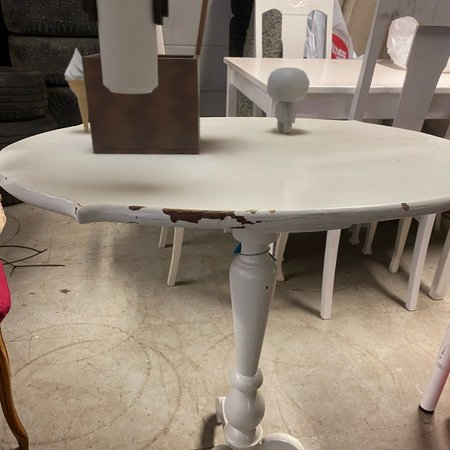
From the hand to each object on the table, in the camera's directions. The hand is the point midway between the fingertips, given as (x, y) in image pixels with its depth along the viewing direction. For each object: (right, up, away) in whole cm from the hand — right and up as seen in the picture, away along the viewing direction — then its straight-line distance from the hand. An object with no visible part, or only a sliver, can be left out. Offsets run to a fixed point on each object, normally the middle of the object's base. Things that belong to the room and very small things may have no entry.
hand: (127, 22), depth 52 cm
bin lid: (+8, +17, +20) cm, 28 cm away
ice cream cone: (-17, +3, +42) cm, 45 cm away
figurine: (+23, +4, +45) cm, 50 cm away
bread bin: (-2, -3, +32) cm, 32 cm away
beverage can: (0, -6, +4) cm, 7 cm away
